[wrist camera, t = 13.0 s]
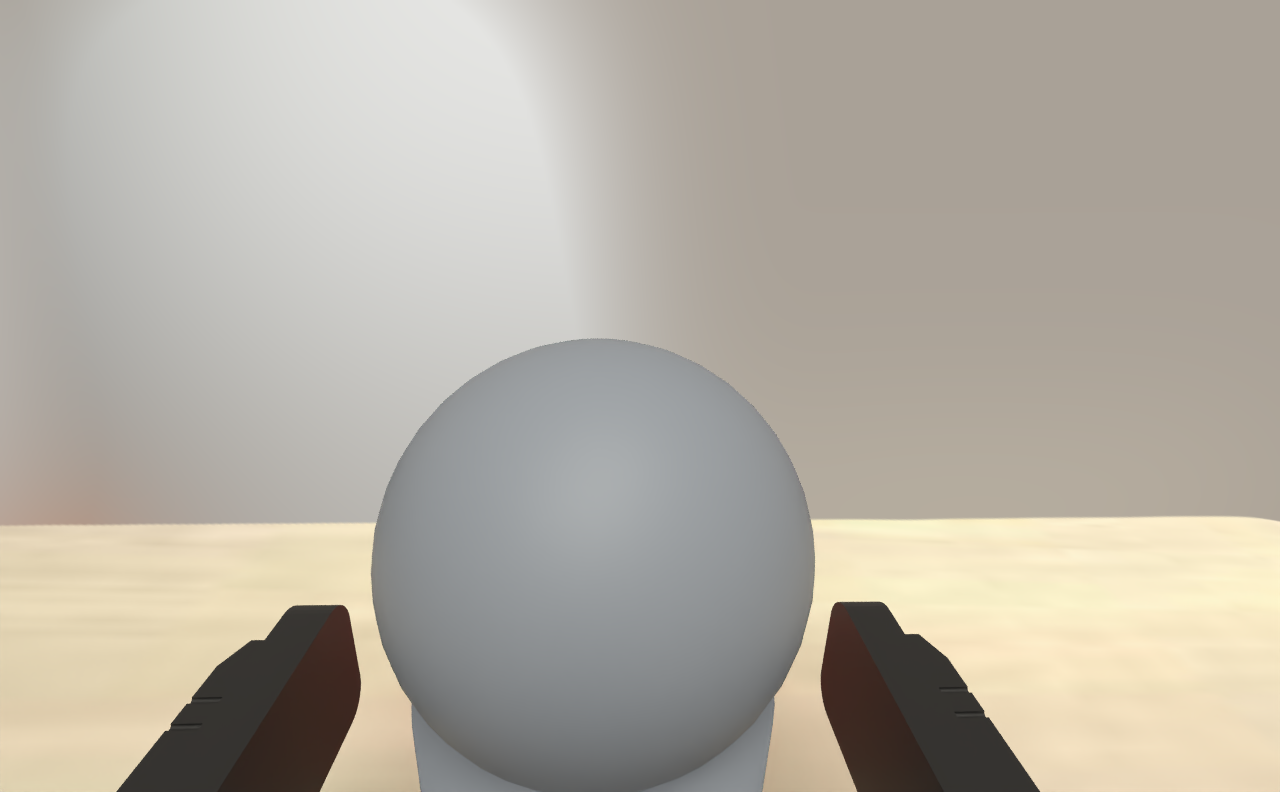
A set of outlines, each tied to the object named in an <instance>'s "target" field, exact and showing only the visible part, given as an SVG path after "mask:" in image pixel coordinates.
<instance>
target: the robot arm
mask: <svg viewBox="0 0 1280 792" xmlns="http://www.w3.org/2000/svg"><path fill="white" fill-rule="evenodd" d="M360 690H361V678H360V672H359V666H358V661H357V655H356V650H355V644H354V638H353V633H352V627H351V622H350V616H349V613H348V610H347V609H346V607H345V606H343V605H302V606H293V607H291V608H289V609H288V610H287V611H286V612H285V614H284V615H283V616H282V618H281V619H280V620H279V622H278V623H277V624H276V626H275V627H274V628H273V630H272V631H271V632H270V634H269V635H268V636H267V638H266V639H265V640H251V641H250V642H249V643H247V644H246V645H245V646H243V647H242V648H241V649H239V650H238V651H237V652H235V653H234V654H233V655H231V656H230V657H229V658H227V659H226V660H225V661H223V662H222V663H221V664H219V665H218V666H217V667H216V668H215V669H214V671H213V672H212V673H211V674H210V676H209V677H208V678H207V679H206V681H205V682H204V683H203V684H202V686H201V687H200V688H199V689H198V691H197V692H196V693H195V694H194V696H193V697H192V701H191V703H190V704H186V706H185V707H184V708H183V709H182V711H181V712H180V713H179V714H178V716H177V717H176V718H175V719H174V721H173V722H172V723H171V728H170V730H169V731H165V732H164V733H163V734H162V736H161V737H160V738H159V739H158V741H157V742H156V743H155V744H154V746H153V747H152V748H151V749H150V750H149V752H148V753H147V754H146V755H145V757H144V758H143V759H142V760H141V762H140V763H139V764H138V765H137V767H136V768H135V769H134V770H133V772H132V773H131V774H130V775H129V777H128V778H127V779H126V780H125V782H124V783H123V784H122V785H121V787H120V788H119V789H118V790H117V792H320V790H321V788H322V785H323V783H324V781H325V779H326V777H327V775H328V773H329V771H330V769H331V766H332V764H333V762H334V760H335V758H336V756H337V754H338V752H339V750H340V747H341V745H342V743H343V741H344V739H345V737H346V735H347V733H348V731H349V728H350V726H351V724H352V722H353V720H354V717H355V714H356V711H357V708H358V703H359V698H360ZM821 691H822V698H823V703H824V707H825V710H826V713H827V716H828V719H829V721H830V724H831V726H832V729H833V731H834V734H835V736H836V739H837V741H838V744H839V746H840V749H841V751H842V754H843V756H844V759H845V761H846V764H847V767H848V769H849V772H850V774H851V777H852V779H853V782H854V784H855V787H856V789H857V792H1040V791H1039V789H1038V788H1037V787H1036V785H1035V784H1034V782H1033V781H1032V779H1031V778H1030V776H1029V775H1028V774H1027V772H1026V771H1025V769H1024V768H1023V766H1022V765H1021V763H1020V762H1019V761H1018V759H1017V758H1016V756H1015V755H1014V753H1013V752H1012V750H1011V749H1010V747H1009V746H1008V745H1007V743H1006V742H1005V740H1004V739H1003V737H1002V736H1001V734H1000V733H999V732H998V730H997V729H996V727H995V726H994V724H993V723H992V721H991V720H990V719H989V717H987V718H986V717H985V714H984V710H983V708H982V707H981V706H980V704H979V703H978V701H977V700H976V698H975V697H974V695H973V694H972V693H969V692H968V689H967V685H966V684H965V682H964V681H963V680H962V678H961V677H960V675H959V674H958V672H957V671H956V669H955V668H954V667H953V665H952V664H951V662H950V661H949V659H948V658H947V657H946V656H944V655H943V654H942V653H941V652H940V651H938V650H937V649H936V648H935V647H934V646H932V645H931V644H930V643H929V642H928V641H926V640H925V639H924V638H923V637H921V636H920V635H919V634H904V632H903V631H902V629H901V627H900V626H899V624H898V623H897V621H896V620H895V618H894V616H893V615H892V613H891V612H890V610H889V609H888V607H887V606H886V605H885V604H884V603H882V602H837V603H835V604H834V606H833V608H832V611H831V617H830V622H829V628H828V634H827V640H826V646H825V652H824V658H823V664H822V670H821Z"/></svg>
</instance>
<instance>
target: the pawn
mask: <svg viewBox="0 0 1280 792" xmlns="http://www.w3.org/2000/svg"><path fill="white" fill-rule="evenodd" d="M814 574H815V552H814V538H813V530H812V525H811V520H810V515H809V511H808V507H807V502H806V499H805V494H804V491H803V488H802V486H801V483H800V481H799V478H798V476H797V473H796V471H795V468H794V466H793V464H792V462H791V460H790V458H789V456H788V454H787V453H786V451H785V449H784V447H783V446H782V444H781V442H780V441H779V439H778V437H777V435H776V434H775V432H774V431H773V430H772V429H771V427H770V426H769V425H768V423H767V422H766V421H765V420H764V419H763V417H762V416H761V415H760V414H759V412H758V411H757V410H756V409H755V407H754V406H753V405H752V404H750V403H749V402H748V401H747V400H746V399H745V398H744V397H743V396H742V395H740V394H739V393H738V392H737V391H736V390H735V389H734V388H733V387H732V386H731V385H730V384H728V383H727V382H725V381H724V380H722V379H721V378H719V377H718V376H716V375H715V374H713V373H712V372H710V371H709V370H707V369H706V368H704V367H703V366H701V365H699V364H697V363H695V362H693V361H691V360H689V359H686V358H684V357H682V356H680V355H677V354H675V353H673V352H670V351H668V350H664V349H661V348H658V347H654V346H650V345H645V344H640V343H636V342H631V341H625V340H615V339H579V340H571V341H565V342H559V343H554V344H549V345H544V346H540V347H536V348H533V349H530V350H528V351H525V352H522V353H520V354H517V355H515V356H512V357H510V358H507V359H505V360H503V361H500V362H499V363H497V364H495V365H493V366H492V367H490V368H489V369H487V370H485V371H483V372H482V373H480V374H478V375H477V376H475V377H473V378H472V379H470V380H469V381H468V382H466V383H465V384H464V385H463V386H462V387H460V388H459V389H458V390H457V391H455V392H454V393H453V394H452V395H451V396H449V397H448V398H447V399H446V400H445V401H444V402H443V403H442V404H441V405H440V406H439V407H438V408H437V409H436V411H435V412H434V413H433V414H432V415H431V416H430V417H429V418H428V419H427V421H426V422H425V423H424V424H423V425H422V426H421V427H420V429H419V430H418V432H417V433H416V435H415V436H414V438H413V439H412V441H411V442H410V444H409V445H408V447H407V448H406V450H405V452H404V453H403V455H402V457H401V458H400V460H399V462H398V464H397V466H396V468H395V470H394V473H393V475H392V477H391V479H390V481H389V484H388V486H387V489H386V492H385V495H384V498H383V502H382V506H381V509H380V512H379V516H378V520H377V523H376V527H375V533H374V543H373V552H372V567H371V580H372V596H373V605H374V610H375V615H376V621H377V625H378V629H379V633H380V637H381V641H382V645H383V648H384V650H385V653H386V655H387V657H388V660H389V662H390V664H391V667H392V669H393V671H394V673H395V675H396V677H397V679H398V682H399V684H400V686H401V688H402V690H403V691H404V693H405V694H406V695H407V697H408V698H409V700H410V701H411V703H412V730H413V737H414V744H415V752H416V759H417V767H418V774H419V781H420V789H421V792H762V789H763V783H764V776H765V770H766V764H767V757H768V751H769V744H770V738H771V731H772V725H773V715H774V705H775V703H774V696H775V694H776V693H777V692H778V690H779V689H780V687H781V686H782V684H783V682H784V680H785V678H786V676H787V674H788V672H789V670H790V668H791V665H792V663H793V661H794V659H795V657H796V655H797V653H798V650H799V648H800V646H801V643H802V639H803V635H804V631H805V628H806V624H807V620H808V616H809V612H810V608H811V604H812V598H813V587H814Z"/></svg>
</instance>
